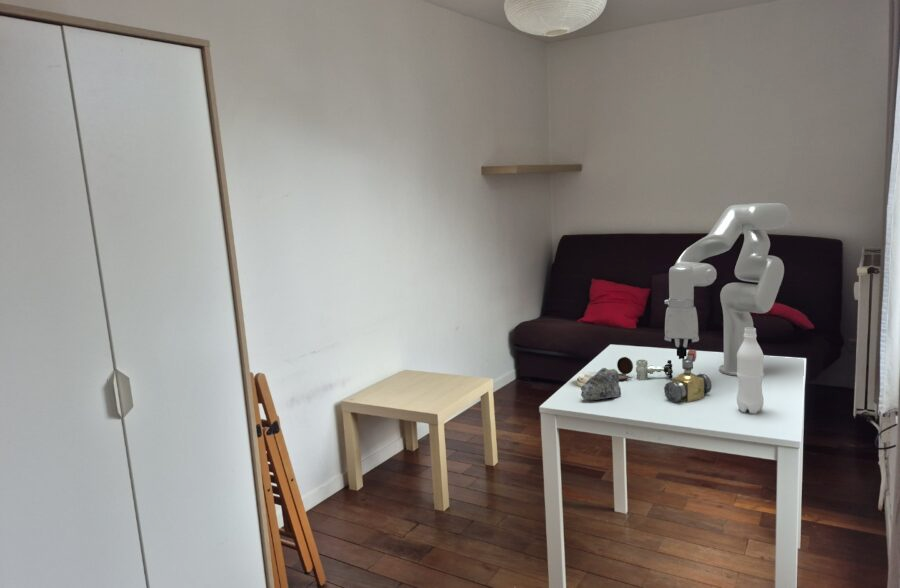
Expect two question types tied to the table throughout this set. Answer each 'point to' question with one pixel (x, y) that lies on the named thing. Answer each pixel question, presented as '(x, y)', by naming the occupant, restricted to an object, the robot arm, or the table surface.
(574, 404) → the table surface
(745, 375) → the water bottle
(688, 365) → the valve lever
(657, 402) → the table surface
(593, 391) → the mineral rock
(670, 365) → the valve
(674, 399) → the pipe valve
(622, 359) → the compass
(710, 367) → the table surface
